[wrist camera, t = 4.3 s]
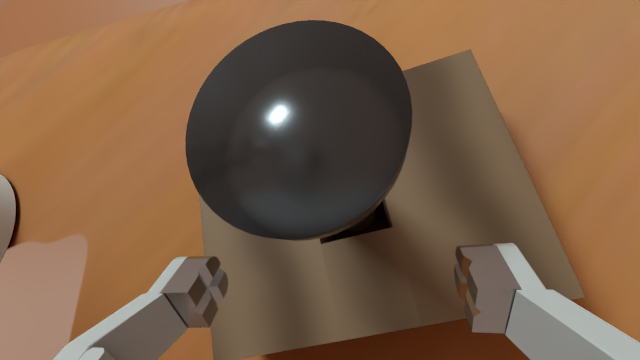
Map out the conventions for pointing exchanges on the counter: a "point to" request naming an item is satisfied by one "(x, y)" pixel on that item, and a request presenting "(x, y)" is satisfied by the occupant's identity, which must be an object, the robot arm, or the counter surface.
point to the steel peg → (300, 131)
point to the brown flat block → (394, 234)
